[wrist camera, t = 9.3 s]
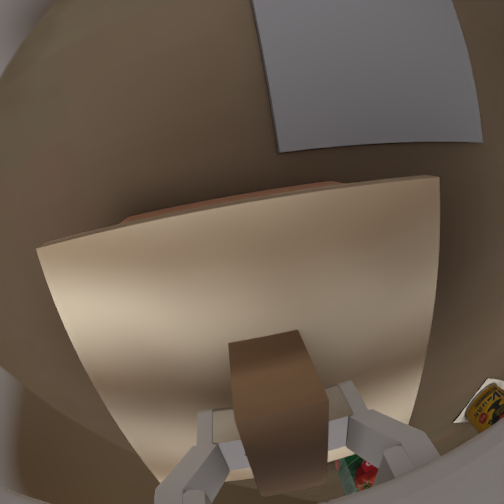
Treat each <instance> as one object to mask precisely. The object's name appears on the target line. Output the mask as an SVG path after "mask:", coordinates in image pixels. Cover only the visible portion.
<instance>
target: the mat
mask: <svg viewBox="0 0 504 504" xmlns="http://www.w3.org/2000/svg"><path fill="white" fill-rule="evenodd" d="M251 4H252V9H253V13H254V18H255V23H256V28H257V34H258V39H259V44H260V49H261V55H262V60H263V65H264V71H265V77H266V82H267V88H268V94H269V100H270V106H271V112H272V118H273V124H274V131H275V137H276V143H277V150H278V153H282V152H289V151H298V150H306V149H315V148H325V147H336V146H348V145H361V144H377V143H398V142H483V139H482V129H481V120H480V112H479V105H478V99H477V93H476V87H475V82H474V77H473V72H472V68H471V63H470V59H469V55H468V51H467V47H466V43H465V40H464V36H463V33H462V30H461V26H460V23H459V20H458V17H457V14H456V11H455V8H454V5H453V3H452V0H251Z"/></svg>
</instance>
